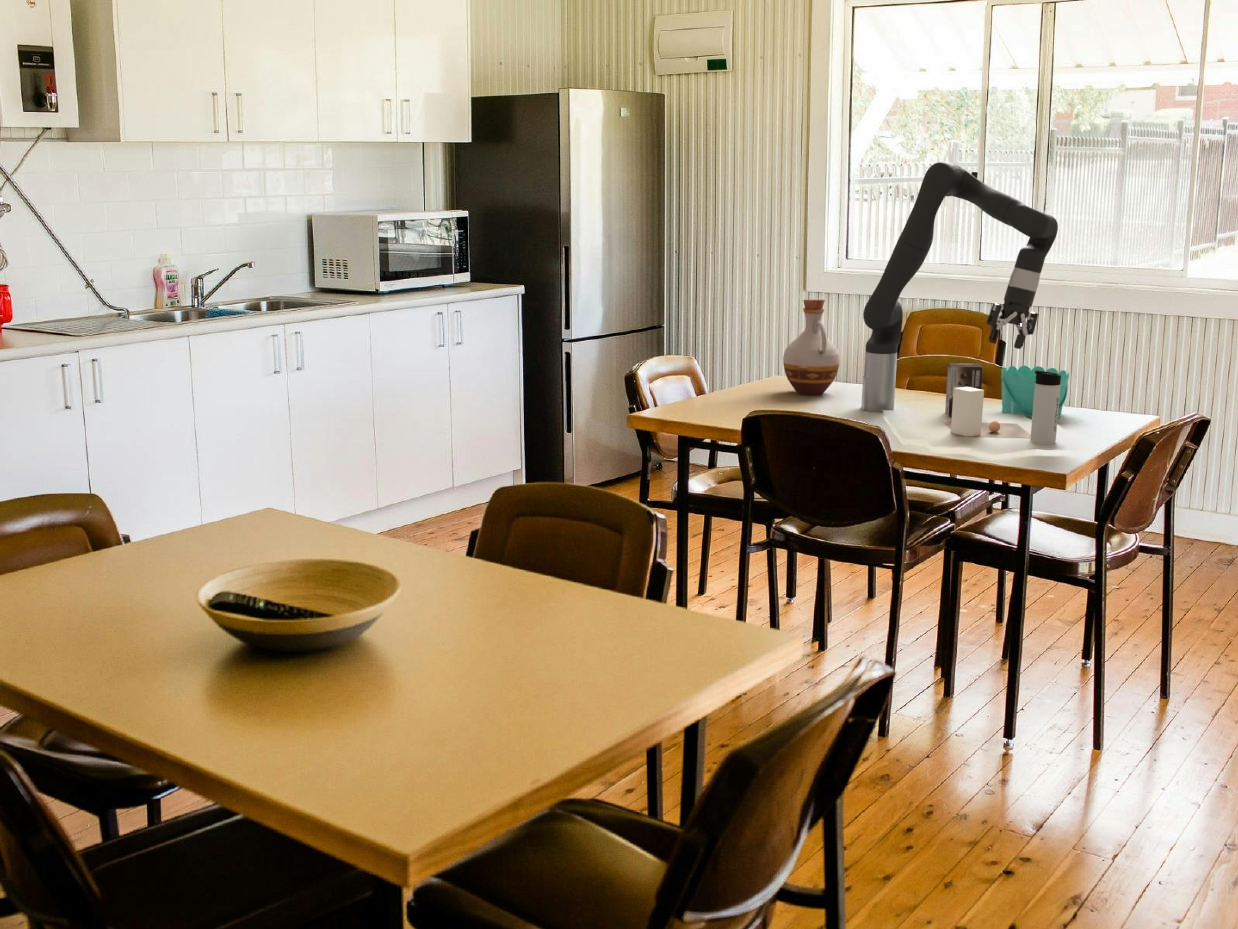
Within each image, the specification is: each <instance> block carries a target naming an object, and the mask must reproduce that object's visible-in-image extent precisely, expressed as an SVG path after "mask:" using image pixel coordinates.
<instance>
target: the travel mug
mask: <svg viewBox="0 0 1238 929" xmlns="http://www.w3.org/2000/svg"><path fill="white" fill-rule="evenodd" d="M1035 374H1036V381H1035V390H1034V402H1033V414H1032V418H1031V426H1030V435H1031V438H1029V439H1030V442H1031V443H1033V444H1038V445H1039V444H1040V445H1054V444H1056V440H1057V431H1058V419H1059V418H1058V409H1059V398H1060V386H1061V382H1060V381H1061V375H1058V374H1056V373H1051V372H1046V370H1045V371H1038V370H1035Z"/></svg>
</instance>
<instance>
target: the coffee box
mask: <svg viewBox="0 0 1238 929" xmlns="http://www.w3.org/2000/svg"><path fill="white" fill-rule="evenodd" d="M983 370H984V367H983V366H982V365H981V363H973V362H972V363H969V362H968V363H965V362H962V363H959V362H958V363H957V362H954V363H953V362H952V363H951V362H949V363H947V377H946V391H945V393H946V395H945V408H944V414H945V415H946V416H947V417H948V418H952V406H953V392H954V388H959V387H972V388H977V389H981V390H983V389H982V387H983V375H984V374H983V372H984V371H983Z"/></svg>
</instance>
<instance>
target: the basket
mask: <svg viewBox="0 0 1238 929" xmlns="http://www.w3.org/2000/svg"><path fill="white" fill-rule="evenodd" d="M1035 370H1038V371H1045V372H1051V373H1056V374H1058V375H1061V381H1060V382H1061V386H1060V398H1059V409H1058V417H1061V416H1060V415H1062V411H1063V410H1062V409H1063V406H1064V403H1065V401H1066V399H1067V395H1068V388H1069V386H1068V384H1069V382H1068V381H1069V376H1070V372H1067V371H1066V370H1064V369H1063V370H1060V371H1059V372H1058V370H1057V369H1056V368H1055V367H1050V368H1047V369H1046V370H1045V369H1044V367H1042V366H1034V367H1032V369H1031V368H1030V366H1027V365H1022V366H1019V367H1018V368H1017V367H1016V366H1014V365H1010V366H1009V367H1008V369H1007V367H1005V366H1004V367H1002V369H1001V370H1000V371H1001V378H1000V380H1001V411H1002V413H1004V414H1022V415H1023V416H1024V417H1026V418H1031V419H1032V414H1033V402H1034V390H1035V381H1036V374H1035Z"/></svg>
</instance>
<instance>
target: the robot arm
mask: <svg viewBox="0 0 1238 929" xmlns="http://www.w3.org/2000/svg"><path fill="white" fill-rule="evenodd" d="M946 197H954V198H957V199H960V200H964V201H967V202H969V203H971V204H973V205H975V206H976V207H978V208H979V209H980V210H981V211H983V212H984V213H985V214H986V215H988V216H989V217H991V218H993V219H995V220H997V221H999V222H1001V223H1002V224H1004V225H1006V226H1009V227H1012V228H1013V229H1015V230H1016V231H1018V232H1020V233H1021V234H1023V235H1025V236H1027V237H1028V238H1029V239H1028V241H1027V243H1026V245H1025V246H1024V247H1022V248H1021V249H1020V250H1019V252H1018V254H1017V257H1016V260H1015V264H1014V268H1013V270H1012V272H1011V274H1010V277H1009V280H1008V283H1007V287H1006V290H1005V294H1004V297H1003V300H1004V301H1003V304H1002V305H1001V304H1000V303H993V304H992V306H991V308H990V311H989V313H988V317H987V320H986V325H988V326H989V327H990V328H991V329H990V332H989V336H988V340H989V341H988V342H989V343H990V344H994V345H996V344H997V341H998V338H999V335H1000V329H1001V328H1002V327H1004V326H1005V325H1009V324H1010V325H1015V327H1016V328H1017V332H1018V334H1017V335H1016V338H1015V342H1014V344H1013V348H1015V349H1017V350H1021V349H1022V348H1023V346H1024V343H1025V340H1026V337H1027V336H1030V335H1031V336H1033V334H1034V333H1035V330H1036V329H1035V328H1036V325H1037V321H1038V318H1039V314H1038V312H1034V311H1030V308H1032V307H1033V303H1034V300H1035V297H1036V293H1037V290H1038V287H1039V283H1040V277H1041V273H1042V270H1043V267H1044V263H1045V260H1046V257H1047V255H1048V254H1049V252H1050V250H1051V248H1052V246H1053V244H1054V242H1055V240H1056V238H1057V234H1058V231H1059V230H1058V229H1059V223H1058V221H1057V219H1056V218H1055V217H1054V216H1052V215H1050V214H1047V213H1044V212H1042V211H1039V210H1037V209H1035V208H1033V207H1030V206H1028V205H1026V203H1025V202H1023V201H1021V200H1019V199H1017V198H1015V197H1013V196H1010V194H1006V193H1004V192H1003V191H1001V190H999V189H996V188H994V187H992V186H989V185H988V184H986V183H984V182H983V181H982V180H980V179H978V178H977V177H976V176H974V175H973V174H972V173H970V172H969V171H967V170H966V169H965V168H964V167H963V166H961V165H959V164H957V163H955V162H947V161H946V162H945V161H938V162H935V163H933V164H931V165H930V166H929V167H928V169H927V170H926V172H925V174H924V177H923V179H922V182H921V185H920V186H919V191H918V194H917V197H916V199H915V202H914V205H913V208H912V209H911V212H910V214H909V216H908V218H907V220H906V222H905V225H904V227H903V229H902V231H901V233H900V235H899V237H898V239H897V242H896V243H895V245H894V248H893V250H892V253H891V256H890V257H889V259H888V262H887V263H886V264H887V265H886V266H885V267H884V268H885V269H884V271H883V273H882V275H881V277H880V280H879V282H878V283H877V285H876V287H875V288H874V290H873V292H872V294H871V296H870V297H869V299H868V301H867V302H866V304H865V306H864V309H863V314H862V315H863V317H862V318H863V322H864V324H865V326H866V327H867V328H869V329H871V335H870V337H869V338H868V340H867V341H866V343H865V354H864V356H865V357H864V371H863V377H862V388H861V409H862V410H863V411H869V412H881V413H882V412H884V411H891V412H893V411H894V410H895V399H896V398H895V397H896V396H895V394H896V379H897V378H896V376H897V364H898V363H897V362H898V348H899V345H900V342H901V337H902V330H903V318H904V316H903V315H904V314H903V313H904V312H903V307H902V304H901V302H900V301H898V299H899V298H900V296H901V293H902V292H903V291H904V289H905V288H906V286H907V284H908V283H909V282H910V281H911V280H912V279H913V277H915V275H916V274H917V273H918V271H919V270H920V269H921V267H922V265H923V264H924V262H925V260H926V258H927V256H928V253H929V251H930V249H931V247H932V245H933V240H934V234H935V233H934V232H935V229H934V228H935V219H936V216H937V213H938V211H939V209H940V207H941V205H942V203H943V201H944V199H945V198H946ZM1026 319H1027V320H1026Z"/></svg>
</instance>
